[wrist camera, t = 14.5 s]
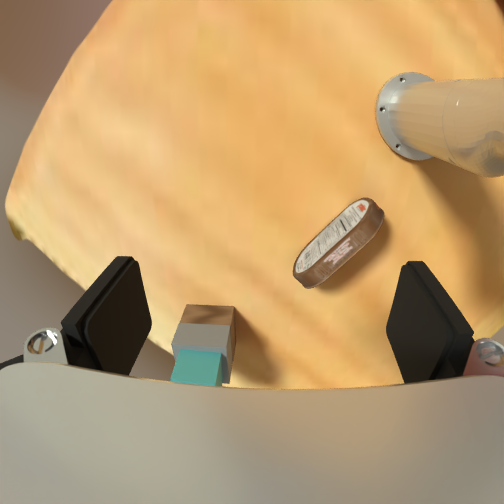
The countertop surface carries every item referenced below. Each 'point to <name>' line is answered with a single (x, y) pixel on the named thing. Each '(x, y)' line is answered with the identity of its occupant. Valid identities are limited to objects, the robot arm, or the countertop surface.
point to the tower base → (211, 317)
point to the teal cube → (198, 368)
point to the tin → (338, 242)
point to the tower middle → (205, 342)
